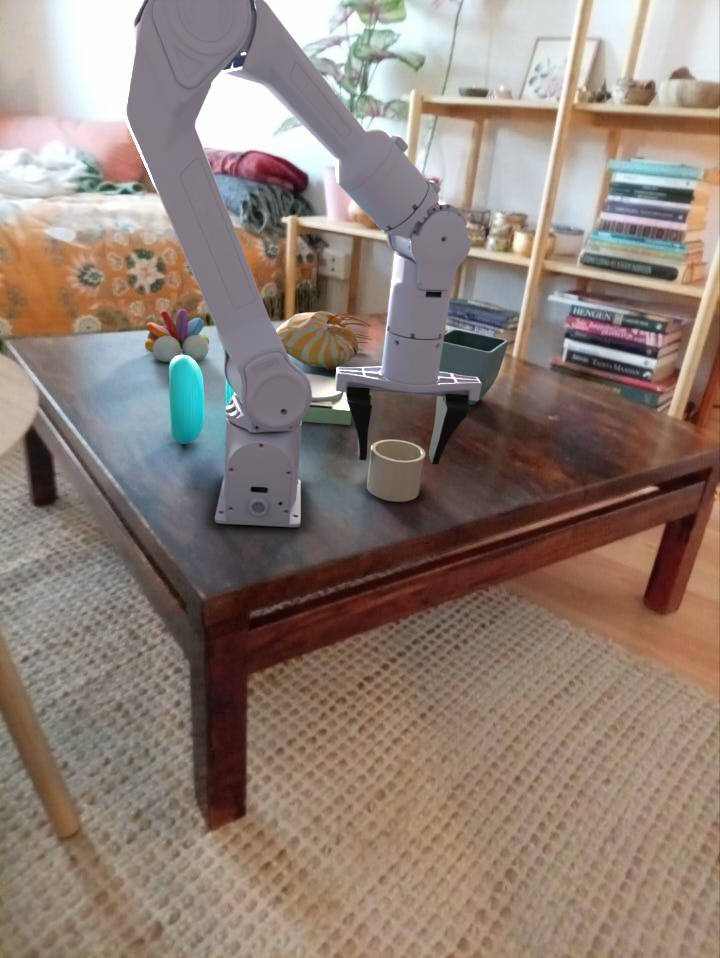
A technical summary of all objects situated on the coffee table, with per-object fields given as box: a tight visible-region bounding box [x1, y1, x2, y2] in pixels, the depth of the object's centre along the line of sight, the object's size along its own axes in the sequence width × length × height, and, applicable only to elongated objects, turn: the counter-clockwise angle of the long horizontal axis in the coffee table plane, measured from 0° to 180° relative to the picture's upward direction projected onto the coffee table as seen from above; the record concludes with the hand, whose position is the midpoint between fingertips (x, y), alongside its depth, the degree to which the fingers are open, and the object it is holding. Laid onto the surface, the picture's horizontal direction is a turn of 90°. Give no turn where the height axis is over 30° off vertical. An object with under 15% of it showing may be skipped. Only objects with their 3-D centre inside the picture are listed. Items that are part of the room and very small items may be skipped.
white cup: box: [366, 439, 427, 503], centre depth 75 cm, size 6×6×5 cm
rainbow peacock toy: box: [144, 308, 210, 363], centre depth 107 cm, size 8×10×7 cm
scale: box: [302, 373, 352, 426], centre depth 96 cm, size 13×11×3 cm
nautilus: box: [275, 310, 372, 372], centre depth 113 cm, size 8×22×15 cm
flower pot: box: [439, 328, 509, 406], centre depth 103 cm, size 9×9×9 cm
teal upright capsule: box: [168, 354, 234, 445], centre depth 80 cm, size 10×10×10 cm
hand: (397, 458), depth 74 cm, fingers open, 7 cm apart
